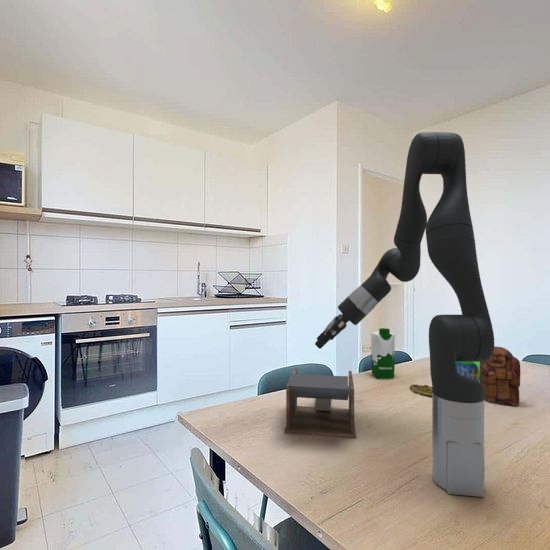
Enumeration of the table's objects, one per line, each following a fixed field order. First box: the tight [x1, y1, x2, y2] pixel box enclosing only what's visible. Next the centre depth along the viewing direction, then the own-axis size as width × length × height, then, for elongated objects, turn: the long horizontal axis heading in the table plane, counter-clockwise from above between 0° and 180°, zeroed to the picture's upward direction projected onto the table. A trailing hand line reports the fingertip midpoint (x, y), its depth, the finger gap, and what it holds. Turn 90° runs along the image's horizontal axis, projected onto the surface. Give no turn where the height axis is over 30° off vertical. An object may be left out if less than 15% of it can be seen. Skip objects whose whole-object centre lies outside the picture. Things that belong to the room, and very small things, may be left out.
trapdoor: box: [290, 373, 349, 401], centre depth 98 cm, size 22×15×3 cm
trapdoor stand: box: [284, 367, 357, 439], centre depth 102 cm, size 18×18×12 cm
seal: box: [409, 384, 432, 399], centre depth 128 cm, size 9×5×15 cm
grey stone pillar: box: [314, 398, 333, 411], centre depth 113 cm, size 5×5×12 cm
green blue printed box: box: [456, 362, 481, 382], centre depth 139 cm, size 16×10×10 cm
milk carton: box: [370, 327, 396, 380], centre depth 149 cm, size 9×9×20 cm
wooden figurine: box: [479, 345, 521, 407], centre depth 119 cm, size 12×6×18 cm, turn 52°
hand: (317, 343), depth 106 cm, fingers open, 8 cm apart
